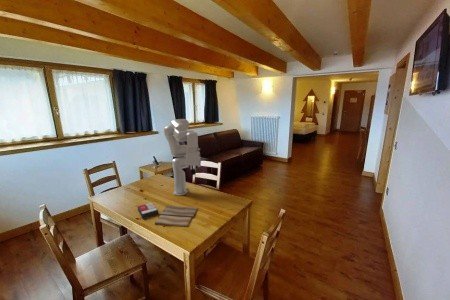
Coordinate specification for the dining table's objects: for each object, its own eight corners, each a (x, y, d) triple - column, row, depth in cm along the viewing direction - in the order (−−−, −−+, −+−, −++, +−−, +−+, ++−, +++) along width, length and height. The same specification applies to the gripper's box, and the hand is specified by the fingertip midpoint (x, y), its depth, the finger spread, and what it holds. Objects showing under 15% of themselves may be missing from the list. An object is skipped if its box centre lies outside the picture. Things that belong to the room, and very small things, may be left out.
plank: (160, 216, 148) (160, 215, 148) (191, 218, 145) (191, 217, 145) (154, 224, 139) (154, 222, 139) (187, 226, 136) (187, 224, 136)
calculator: (152, 201, 163) (158, 209, 150) (152, 206, 163) (158, 214, 151) (137, 205, 157) (141, 213, 144) (137, 211, 158) (142, 219, 145)
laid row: (166, 207, 161) (166, 205, 161) (197, 209, 158) (197, 207, 158) (159, 215, 149) (159, 214, 149) (192, 218, 146) (192, 216, 146)
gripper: (204, 148, 151) (205, 173, 155) (184, 148, 153) (185, 172, 157) (201, 151, 144) (202, 176, 148) (180, 150, 146) (182, 175, 150)
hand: (193, 174), depth 153 cm, fingers closed
